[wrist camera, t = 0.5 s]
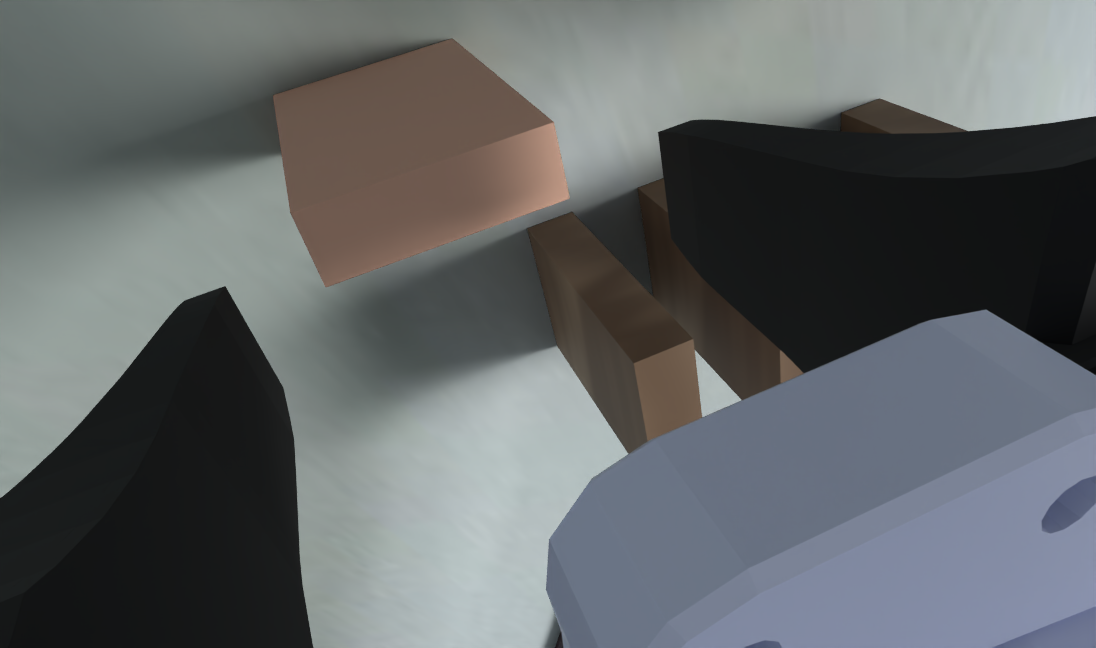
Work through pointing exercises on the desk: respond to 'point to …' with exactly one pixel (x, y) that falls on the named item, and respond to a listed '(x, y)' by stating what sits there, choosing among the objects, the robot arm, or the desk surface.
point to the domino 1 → (411, 158)
